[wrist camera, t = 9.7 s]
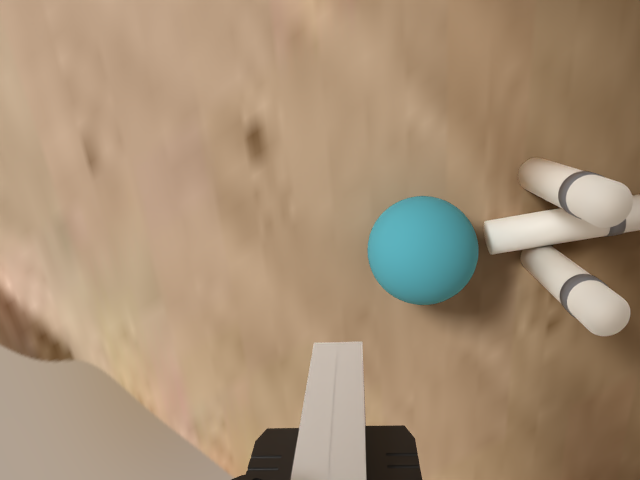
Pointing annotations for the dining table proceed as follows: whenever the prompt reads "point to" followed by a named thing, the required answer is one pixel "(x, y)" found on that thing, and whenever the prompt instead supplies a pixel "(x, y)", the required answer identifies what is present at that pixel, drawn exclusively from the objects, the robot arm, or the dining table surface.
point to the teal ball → (423, 250)
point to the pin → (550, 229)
